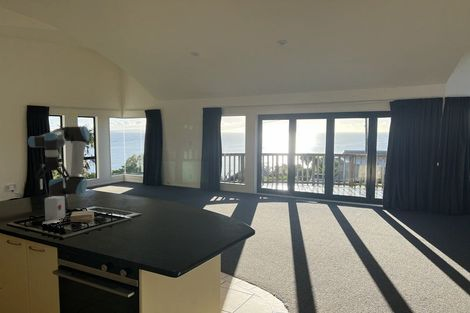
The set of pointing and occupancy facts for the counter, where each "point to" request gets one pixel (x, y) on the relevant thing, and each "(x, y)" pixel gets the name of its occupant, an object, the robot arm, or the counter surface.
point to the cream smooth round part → (51, 221)
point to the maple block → (82, 216)
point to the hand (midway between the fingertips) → (53, 188)
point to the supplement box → (54, 207)
